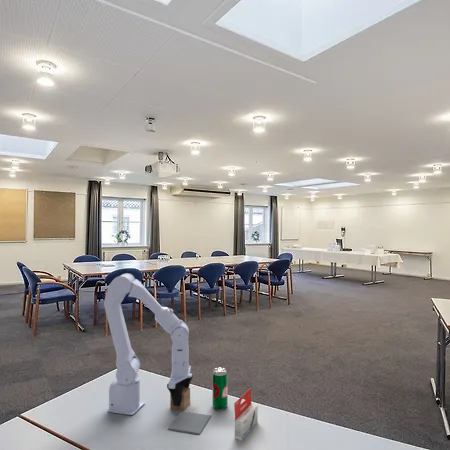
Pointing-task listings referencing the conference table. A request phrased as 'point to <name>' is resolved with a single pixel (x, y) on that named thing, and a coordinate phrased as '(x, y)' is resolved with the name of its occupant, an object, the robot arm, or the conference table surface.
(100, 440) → the conference table surface
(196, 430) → the pad
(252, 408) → the ink cartridge box
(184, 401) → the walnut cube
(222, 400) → the soda can
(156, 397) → the conference table surface
